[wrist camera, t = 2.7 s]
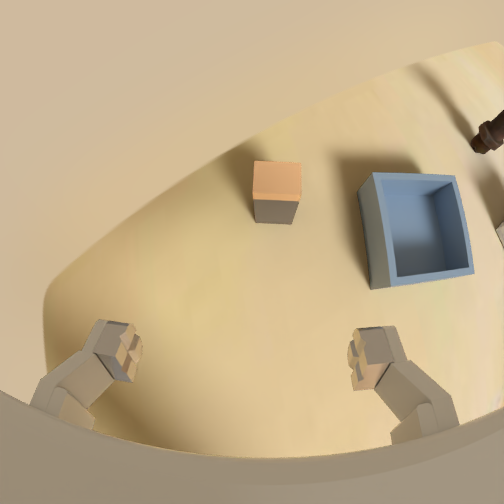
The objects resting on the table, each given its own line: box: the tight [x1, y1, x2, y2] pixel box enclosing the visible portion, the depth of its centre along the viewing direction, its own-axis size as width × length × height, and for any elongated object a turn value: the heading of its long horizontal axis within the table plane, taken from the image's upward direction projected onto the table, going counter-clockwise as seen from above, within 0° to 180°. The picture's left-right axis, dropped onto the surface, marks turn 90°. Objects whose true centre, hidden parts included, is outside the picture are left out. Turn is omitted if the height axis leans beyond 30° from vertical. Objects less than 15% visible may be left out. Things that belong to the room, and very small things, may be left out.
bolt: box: [471, 110, 504, 154], centre depth 26 cm, size 6×5×15 cm
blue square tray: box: [357, 172, 474, 290], centre depth 28 cm, size 12×12×6 cm
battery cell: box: [252, 161, 301, 224], centre depth 28 cm, size 3×4×9 cm
